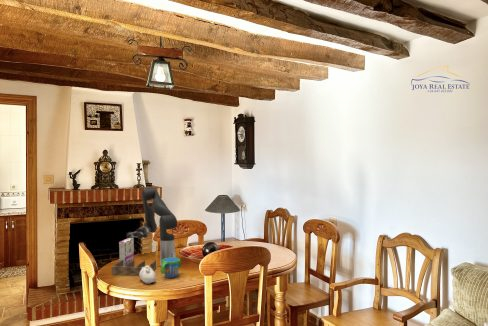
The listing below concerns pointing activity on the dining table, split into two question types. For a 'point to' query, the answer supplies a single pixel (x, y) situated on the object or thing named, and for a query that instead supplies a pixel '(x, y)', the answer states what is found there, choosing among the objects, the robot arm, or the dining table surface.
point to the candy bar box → (126, 250)
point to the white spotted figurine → (147, 274)
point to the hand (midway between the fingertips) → (133, 237)
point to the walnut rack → (130, 268)
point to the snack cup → (170, 267)
